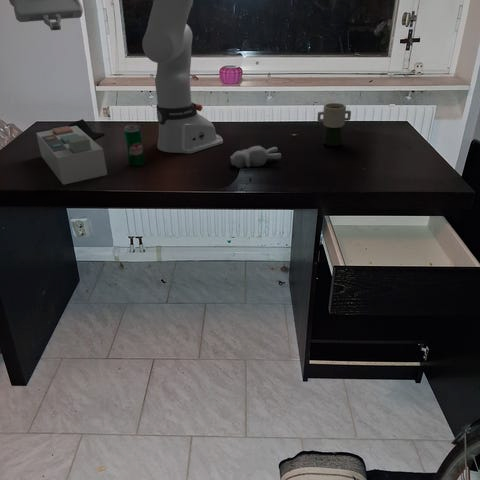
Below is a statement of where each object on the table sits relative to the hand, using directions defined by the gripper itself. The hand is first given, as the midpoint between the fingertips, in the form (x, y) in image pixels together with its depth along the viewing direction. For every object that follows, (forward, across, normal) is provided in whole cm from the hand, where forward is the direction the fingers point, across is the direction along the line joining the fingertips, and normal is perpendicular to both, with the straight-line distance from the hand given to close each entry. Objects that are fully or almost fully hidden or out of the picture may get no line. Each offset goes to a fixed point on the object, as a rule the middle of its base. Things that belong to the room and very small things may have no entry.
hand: (56, 28), depth 153 cm
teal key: (+36, -6, +10) cm, 38 cm away
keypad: (+39, -7, +13) cm, 42 cm away
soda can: (+47, +10, +6) cm, 49 cm away
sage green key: (+42, -6, +2) cm, 42 cm away
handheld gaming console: (+23, +4, +31) cm, 38 cm away
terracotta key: (+29, -6, +17) cm, 35 cm away
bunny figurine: (+62, +40, -9) cm, 75 cm away
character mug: (+62, +71, -9) cm, 95 cm away
